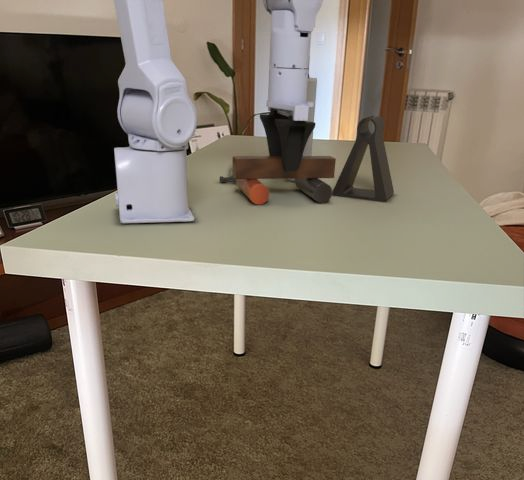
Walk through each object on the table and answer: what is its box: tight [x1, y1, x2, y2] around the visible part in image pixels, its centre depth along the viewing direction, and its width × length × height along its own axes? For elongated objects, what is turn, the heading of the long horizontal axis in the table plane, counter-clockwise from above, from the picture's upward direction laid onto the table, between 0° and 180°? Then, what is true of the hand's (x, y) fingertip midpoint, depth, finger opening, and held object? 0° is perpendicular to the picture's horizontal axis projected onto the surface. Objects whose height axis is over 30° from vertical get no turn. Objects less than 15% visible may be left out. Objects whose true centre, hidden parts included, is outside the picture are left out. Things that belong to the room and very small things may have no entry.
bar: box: [231, 155, 337, 180], centre depth 87 cm, size 16×2×3 cm, turn 104°
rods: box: [235, 178, 333, 206], centre depth 88 cm, size 13×10×3 cm
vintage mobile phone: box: [287, 57, 318, 183], centre depth 96 cm, size 4×5×25 cm
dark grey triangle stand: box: [332, 115, 395, 203], centre depth 89 cm, size 9×6×12 cm, turn 66°
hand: (283, 165), depth 87 cm, fingers open, 7 cm apart
